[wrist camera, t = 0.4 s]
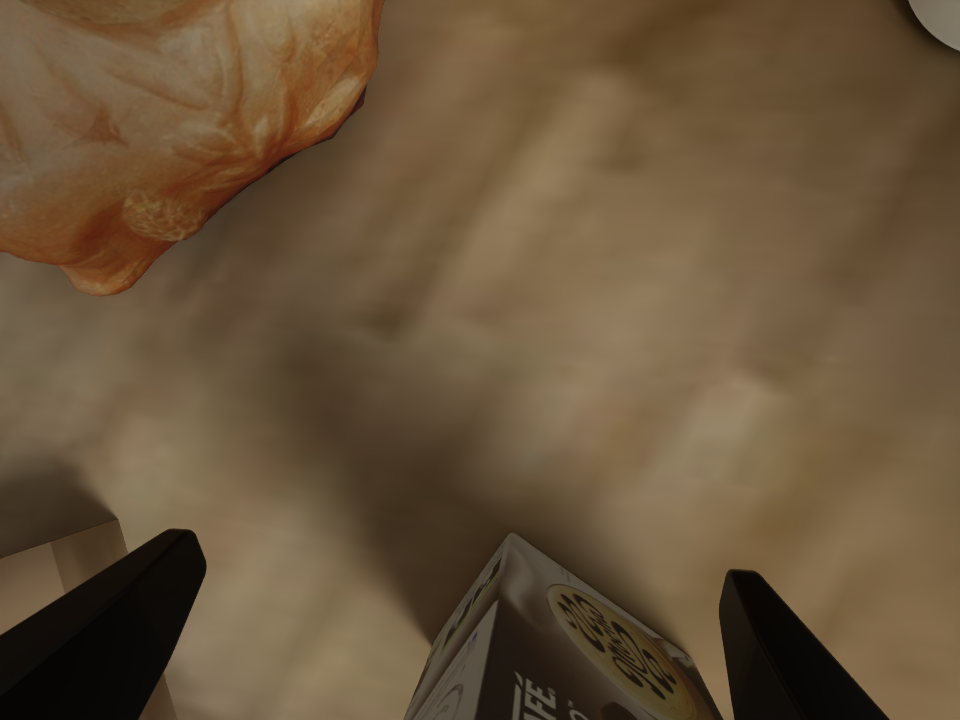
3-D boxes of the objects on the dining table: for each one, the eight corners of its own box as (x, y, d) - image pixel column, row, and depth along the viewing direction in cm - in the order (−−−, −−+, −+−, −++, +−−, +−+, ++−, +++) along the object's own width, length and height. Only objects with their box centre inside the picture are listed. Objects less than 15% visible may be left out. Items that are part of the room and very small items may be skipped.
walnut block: (201, 777, 26) (138, 850, 22) (-29, 840, 27) (-127, 920, 23) (124, 516, 27) (50, 542, 23) (-97, 590, 28) (-204, 626, 24)
